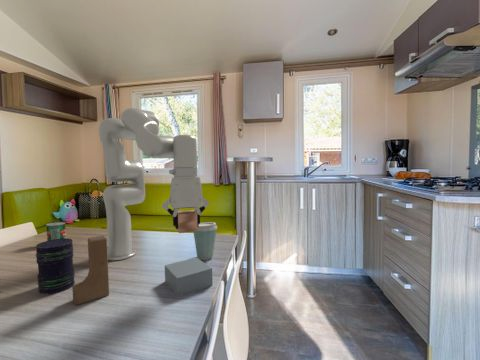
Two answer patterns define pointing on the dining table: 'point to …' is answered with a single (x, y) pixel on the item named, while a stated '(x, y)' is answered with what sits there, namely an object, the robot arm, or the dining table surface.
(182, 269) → the slate box
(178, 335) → the dining table surface
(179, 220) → the terracotta cube
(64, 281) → the storage jar
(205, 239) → the disposable coffee cup
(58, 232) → the canned tomato
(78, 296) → the wooden block
